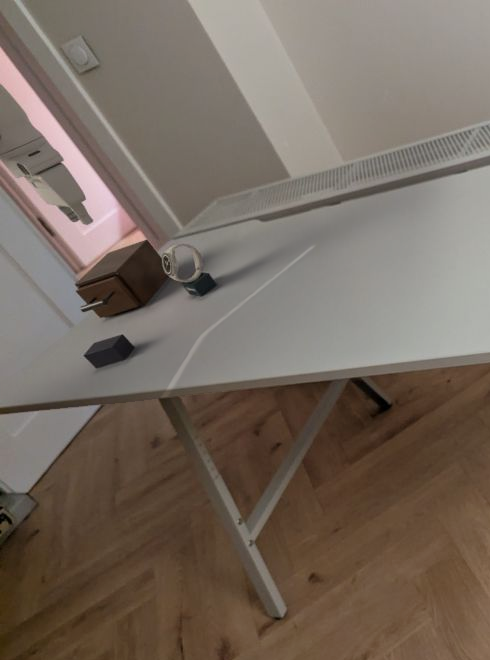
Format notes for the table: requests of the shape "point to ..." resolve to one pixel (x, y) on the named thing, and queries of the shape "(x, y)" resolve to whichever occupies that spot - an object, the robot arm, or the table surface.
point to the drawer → (107, 296)
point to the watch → (197, 281)
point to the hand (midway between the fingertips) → (82, 222)
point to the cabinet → (131, 270)
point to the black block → (109, 351)
